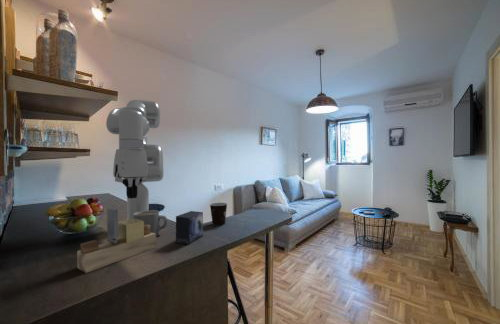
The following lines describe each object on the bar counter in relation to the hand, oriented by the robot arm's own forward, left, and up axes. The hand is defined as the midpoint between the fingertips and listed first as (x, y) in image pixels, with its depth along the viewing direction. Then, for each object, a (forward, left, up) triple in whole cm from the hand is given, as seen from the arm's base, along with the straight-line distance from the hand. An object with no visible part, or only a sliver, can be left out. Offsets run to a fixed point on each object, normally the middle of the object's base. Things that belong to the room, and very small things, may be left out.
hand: (132, 197), depth 75 cm
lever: (0, -6, -13) cm, 15 cm away
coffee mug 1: (-11, +14, -19) cm, 27 cm away
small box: (+8, +19, -19) cm, 28 cm away
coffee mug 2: (+3, +41, -19) cm, 46 cm away
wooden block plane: (0, -4, -19) cm, 20 cm away
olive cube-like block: (0, -1, -14) cm, 14 cm away
